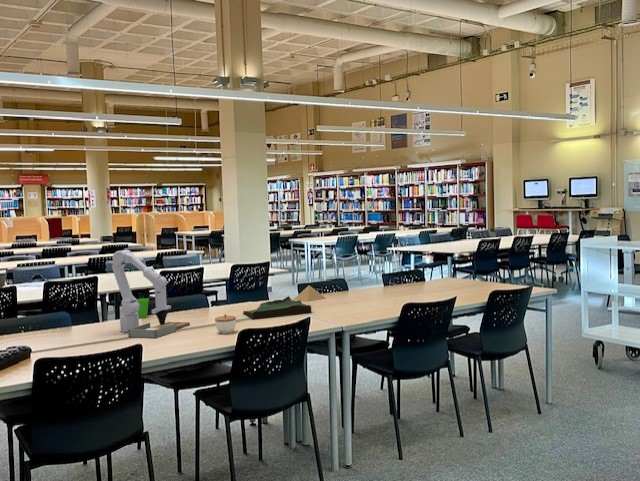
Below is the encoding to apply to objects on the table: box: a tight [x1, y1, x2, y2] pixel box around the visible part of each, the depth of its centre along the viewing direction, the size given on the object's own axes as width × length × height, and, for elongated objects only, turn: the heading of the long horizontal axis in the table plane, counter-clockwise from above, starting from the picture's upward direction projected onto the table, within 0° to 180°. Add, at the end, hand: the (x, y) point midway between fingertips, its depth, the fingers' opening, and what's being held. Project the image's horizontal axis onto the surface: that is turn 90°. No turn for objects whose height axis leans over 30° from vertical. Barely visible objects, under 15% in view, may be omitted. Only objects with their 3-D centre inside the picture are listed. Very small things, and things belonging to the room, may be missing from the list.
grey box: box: [127, 322, 177, 339], centre depth 315 cm, size 17×17×4 cm
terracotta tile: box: [150, 324, 166, 329], centre depth 320 cm, size 6×6×2 cm
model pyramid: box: [292, 285, 327, 303], centre depth 412 cm, size 17×17×10 cm
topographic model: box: [242, 295, 312, 321], centre depth 360 cm, size 36×22×10 cm, turn 112°
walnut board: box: [159, 321, 191, 331], centre depth 330 cm, size 14×16×2 cm
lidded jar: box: [214, 313, 237, 335], centre depth 311 cm, size 11×11×9 cm
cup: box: [136, 298, 150, 319], centre depth 365 cm, size 9×9×11 cm
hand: (162, 324), depth 323 cm, fingers closed
